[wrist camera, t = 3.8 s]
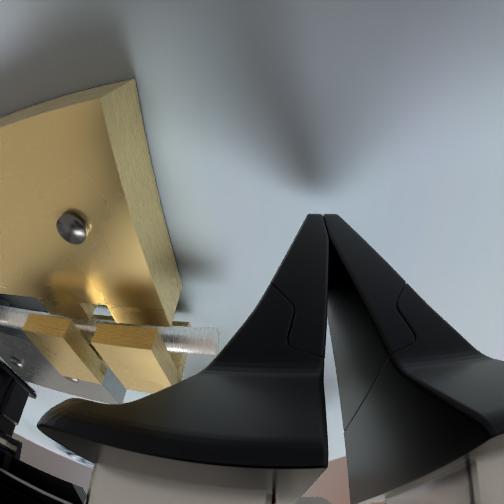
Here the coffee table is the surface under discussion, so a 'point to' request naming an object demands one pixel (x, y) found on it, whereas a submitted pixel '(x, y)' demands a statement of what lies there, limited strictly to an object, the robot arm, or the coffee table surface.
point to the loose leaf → (89, 236)
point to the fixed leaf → (42, 371)
